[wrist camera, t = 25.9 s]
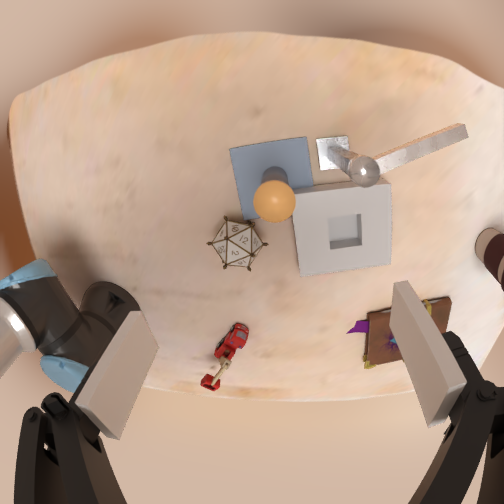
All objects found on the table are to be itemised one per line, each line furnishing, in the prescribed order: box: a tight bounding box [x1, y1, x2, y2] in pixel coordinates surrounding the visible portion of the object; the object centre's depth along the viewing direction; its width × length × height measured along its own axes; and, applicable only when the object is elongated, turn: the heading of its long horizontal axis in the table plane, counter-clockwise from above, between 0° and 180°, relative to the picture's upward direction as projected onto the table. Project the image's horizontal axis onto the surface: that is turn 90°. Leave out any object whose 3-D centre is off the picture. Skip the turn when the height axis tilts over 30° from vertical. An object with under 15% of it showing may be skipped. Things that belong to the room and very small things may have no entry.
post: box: [316, 136, 358, 176], centre depth 35 cm, size 5×5×16 cm
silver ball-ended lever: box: [347, 123, 468, 188], centre depth 26 cm, size 3×16×2 cm, turn 118°
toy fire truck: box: [200, 324, 249, 391], centre depth 57 cm, size 3×14×10 cm, turn 148°
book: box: [346, 297, 452, 369], centre depth 55 cm, size 16×25×5 cm, turn 101°
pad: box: [229, 137, 313, 220], centre depth 45 cm, size 12×12×1 cm
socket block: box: [292, 178, 392, 277], centre depth 46 cm, size 16×14×4 cm
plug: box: [253, 167, 296, 222], centre depth 38 cm, size 5×5×14 cm
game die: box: [206, 215, 269, 272], centre depth 46 cm, size 9×8×10 cm
